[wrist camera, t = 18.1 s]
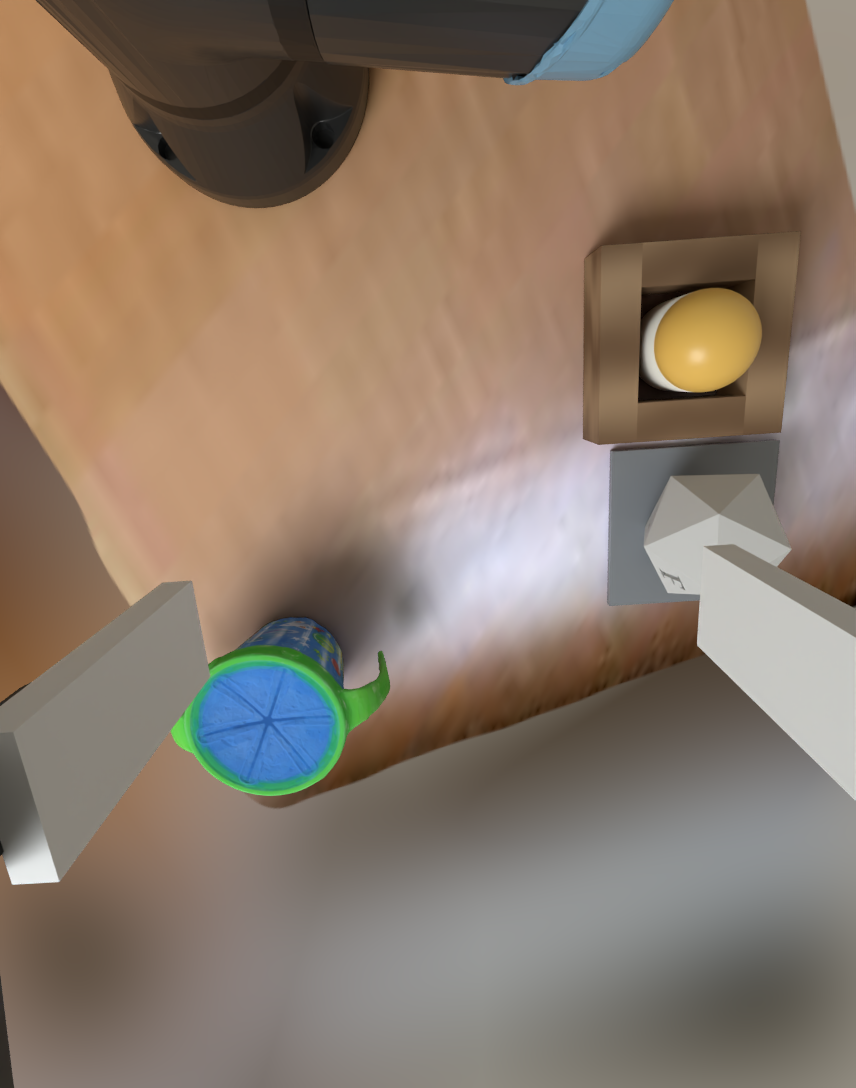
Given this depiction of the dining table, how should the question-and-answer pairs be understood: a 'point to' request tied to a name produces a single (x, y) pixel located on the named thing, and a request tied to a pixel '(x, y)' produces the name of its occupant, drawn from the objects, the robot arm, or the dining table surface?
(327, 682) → the snack cup
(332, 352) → the dining table surface
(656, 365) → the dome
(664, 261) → the brown square tray
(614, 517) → the coaster
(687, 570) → the die
